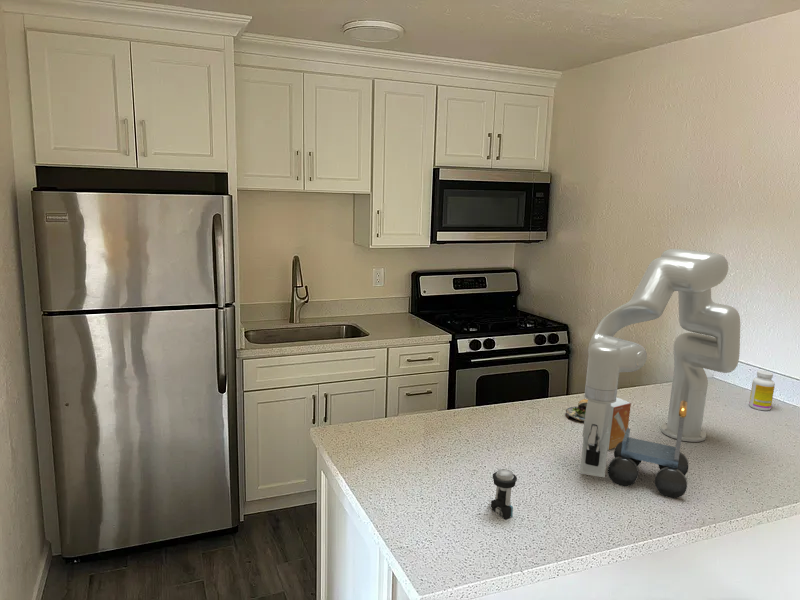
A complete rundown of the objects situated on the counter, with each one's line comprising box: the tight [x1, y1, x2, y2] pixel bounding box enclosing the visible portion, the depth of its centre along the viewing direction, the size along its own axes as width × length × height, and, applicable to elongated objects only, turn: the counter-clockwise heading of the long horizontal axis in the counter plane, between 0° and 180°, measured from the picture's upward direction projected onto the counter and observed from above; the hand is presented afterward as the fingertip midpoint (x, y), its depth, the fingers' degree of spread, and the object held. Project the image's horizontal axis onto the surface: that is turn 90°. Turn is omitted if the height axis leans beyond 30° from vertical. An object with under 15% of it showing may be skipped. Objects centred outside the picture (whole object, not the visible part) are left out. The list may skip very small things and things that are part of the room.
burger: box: [564, 394, 588, 422], centre depth 192 cm, size 12×12×8 cm
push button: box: [487, 468, 518, 521], centre depth 133 cm, size 7×5×10 cm
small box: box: [607, 397, 632, 451], centre depth 172 cm, size 8×6×13 cm
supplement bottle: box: [748, 370, 775, 412], centre depth 207 cm, size 7×7×13 cm
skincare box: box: [579, 427, 609, 478], centre depth 151 cm, size 6×4×12 cm
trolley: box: [607, 401, 689, 499], centre depth 150 cm, size 13×18×21 cm
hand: (593, 459), depth 152 cm, fingers closed on skincare box, 4 cm apart
